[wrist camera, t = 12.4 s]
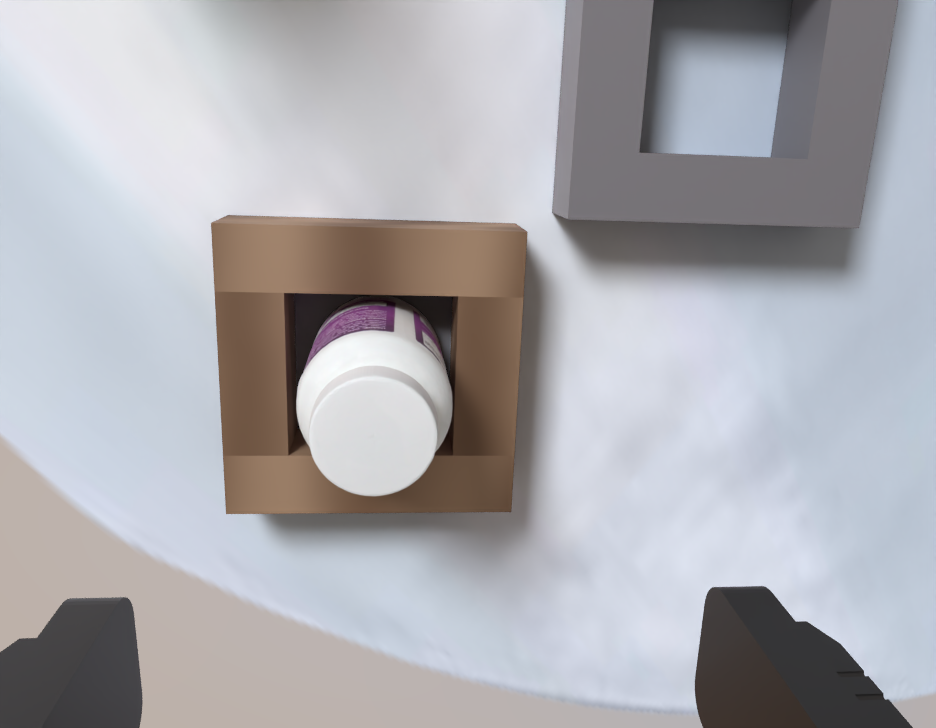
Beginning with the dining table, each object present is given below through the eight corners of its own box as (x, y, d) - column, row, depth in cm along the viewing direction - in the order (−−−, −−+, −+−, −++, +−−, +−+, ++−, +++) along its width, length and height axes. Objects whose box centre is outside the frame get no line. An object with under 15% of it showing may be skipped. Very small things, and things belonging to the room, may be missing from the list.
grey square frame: (866, -82, 30) (916, -106, 27) (818, 220, 33) (859, 227, 30) (573, -103, 29) (592, -130, 26) (552, 212, 32) (567, 219, 29)
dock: (515, 223, 32) (527, 231, 29) (501, 481, 35) (511, 511, 32) (228, 215, 31) (211, 222, 28) (240, 482, 34) (226, 513, 31)
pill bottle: (299, 394, 33) (261, 492, 24) (334, 276, 32) (308, 332, 23) (420, 429, 34) (429, 536, 25) (458, 315, 33) (483, 384, 24)
